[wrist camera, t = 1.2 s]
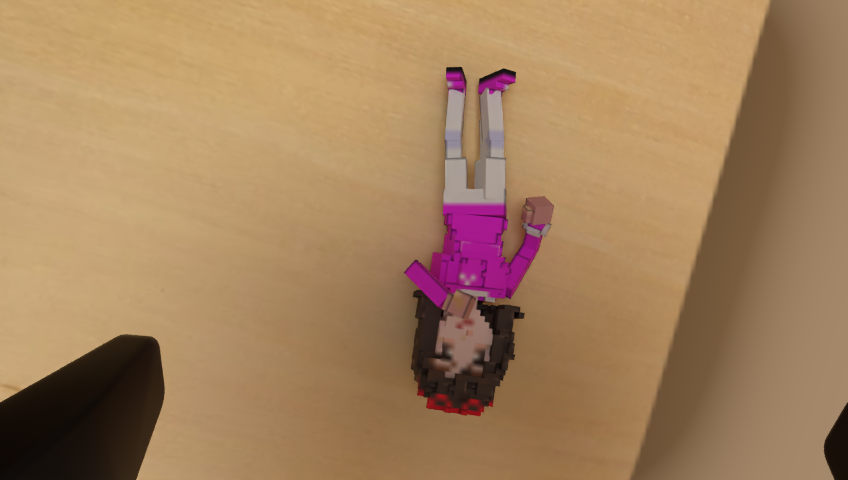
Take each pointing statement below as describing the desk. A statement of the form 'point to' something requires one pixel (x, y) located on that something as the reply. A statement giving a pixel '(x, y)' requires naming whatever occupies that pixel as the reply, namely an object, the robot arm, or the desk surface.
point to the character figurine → (472, 264)
